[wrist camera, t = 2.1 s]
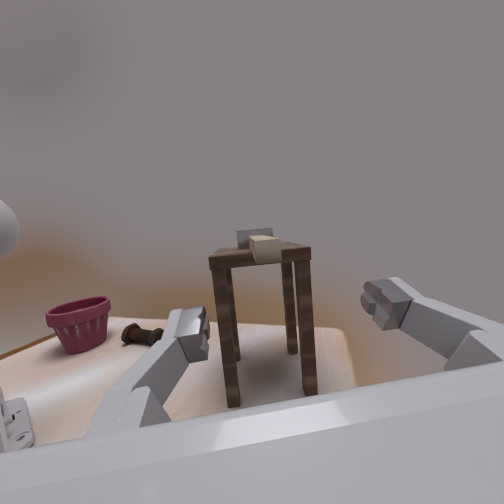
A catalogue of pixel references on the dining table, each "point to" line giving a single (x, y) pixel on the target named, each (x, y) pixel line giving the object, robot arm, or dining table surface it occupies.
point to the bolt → (141, 335)
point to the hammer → (261, 245)
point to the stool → (301, 256)
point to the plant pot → (80, 323)
